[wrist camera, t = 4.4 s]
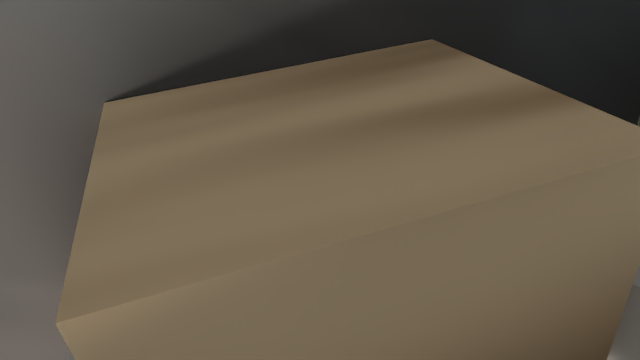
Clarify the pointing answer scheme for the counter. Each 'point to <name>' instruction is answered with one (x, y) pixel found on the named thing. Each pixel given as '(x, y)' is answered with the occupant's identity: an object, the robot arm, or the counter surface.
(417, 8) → the counter surface
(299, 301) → the oak brick
